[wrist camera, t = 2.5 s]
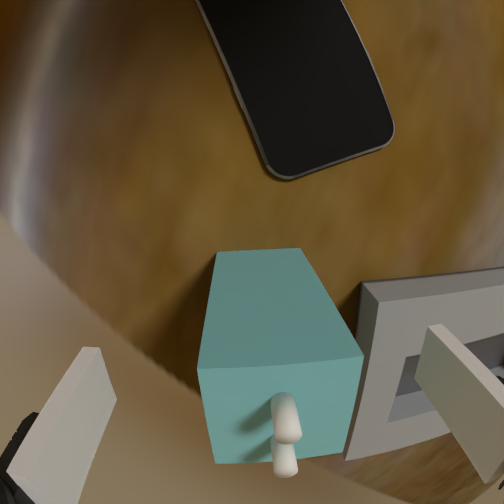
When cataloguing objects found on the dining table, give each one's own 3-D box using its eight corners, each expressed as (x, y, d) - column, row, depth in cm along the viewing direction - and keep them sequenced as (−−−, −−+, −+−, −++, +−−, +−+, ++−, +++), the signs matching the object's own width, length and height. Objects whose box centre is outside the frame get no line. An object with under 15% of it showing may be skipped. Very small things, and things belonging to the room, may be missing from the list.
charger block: (217, 251, 18) (191, 404, 7) (299, 247, 18) (382, 387, 7) (222, 324, 19) (214, 495, 8) (298, 319, 19) (351, 481, 8)
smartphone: (298, -72, 11) (402, 141, 16) (297, -66, 12) (396, 142, 16) (174, -42, 12) (273, 186, 16) (176, -37, 13) (271, 185, 17)
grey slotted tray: (361, 281, 18) (383, 307, 15) (549, 260, 19) (574, 273, 16) (337, 436, 23) (346, 466, 20) (508, 385, 23) (524, 404, 20)
